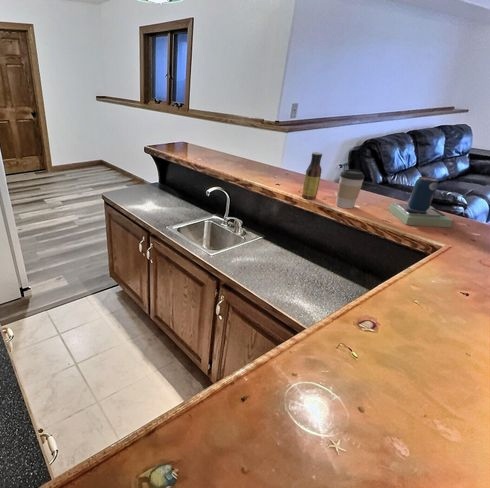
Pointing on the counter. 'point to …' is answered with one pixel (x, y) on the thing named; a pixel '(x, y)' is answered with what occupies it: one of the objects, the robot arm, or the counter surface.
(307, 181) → the sauce bottle
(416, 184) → the soda can
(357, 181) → the coffee cup
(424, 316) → the counter surface
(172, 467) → the counter surface
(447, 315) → the counter surface
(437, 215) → the scale pan
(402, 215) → the scale
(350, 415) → the counter surface
